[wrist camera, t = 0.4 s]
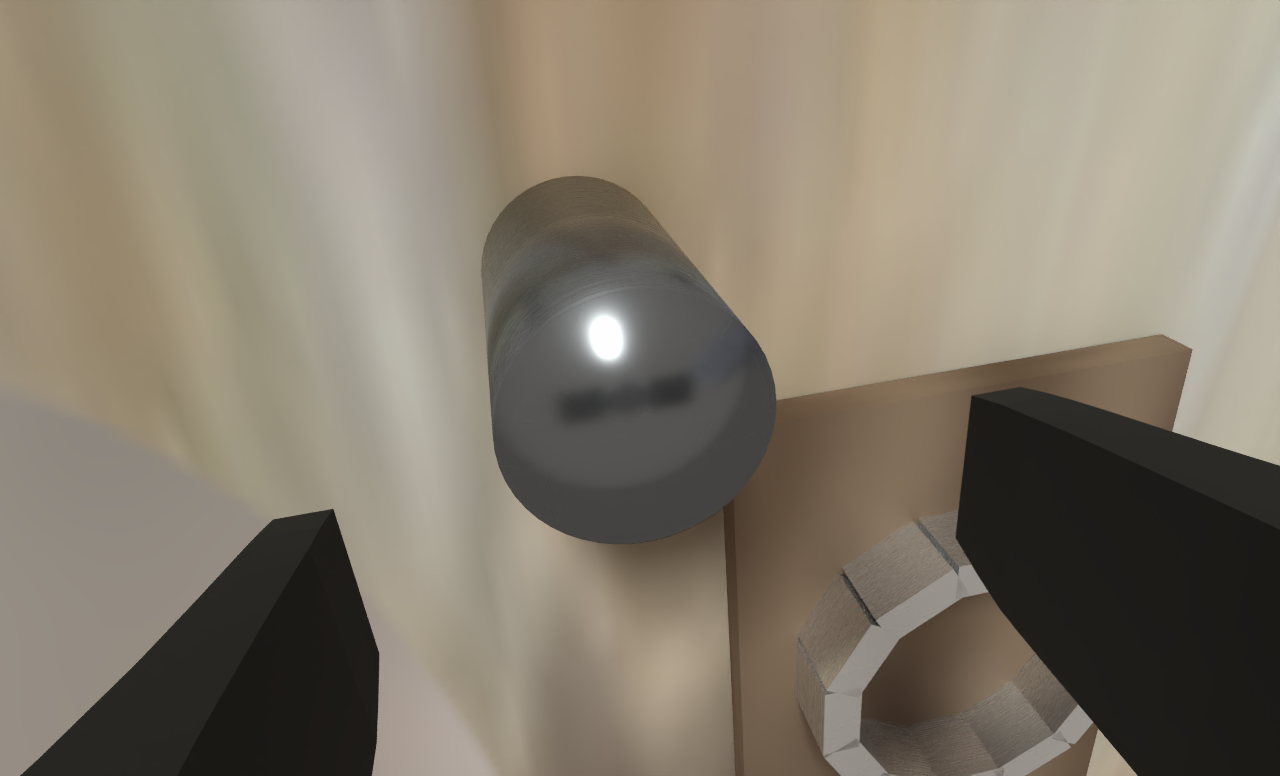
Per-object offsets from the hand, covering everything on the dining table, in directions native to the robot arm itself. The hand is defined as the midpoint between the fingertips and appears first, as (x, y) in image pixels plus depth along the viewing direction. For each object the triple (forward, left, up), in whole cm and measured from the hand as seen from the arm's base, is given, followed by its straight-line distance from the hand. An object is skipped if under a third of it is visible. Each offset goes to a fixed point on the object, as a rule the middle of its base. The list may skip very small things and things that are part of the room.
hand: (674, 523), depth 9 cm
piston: (0, 0, -9) cm, 9 cm away
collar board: (-9, +12, -9) cm, 18 cm away
